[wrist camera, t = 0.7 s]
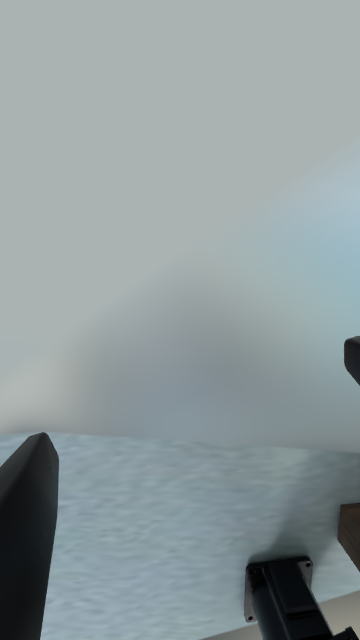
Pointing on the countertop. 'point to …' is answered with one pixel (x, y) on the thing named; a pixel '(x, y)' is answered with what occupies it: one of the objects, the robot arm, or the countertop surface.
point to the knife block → (350, 531)
